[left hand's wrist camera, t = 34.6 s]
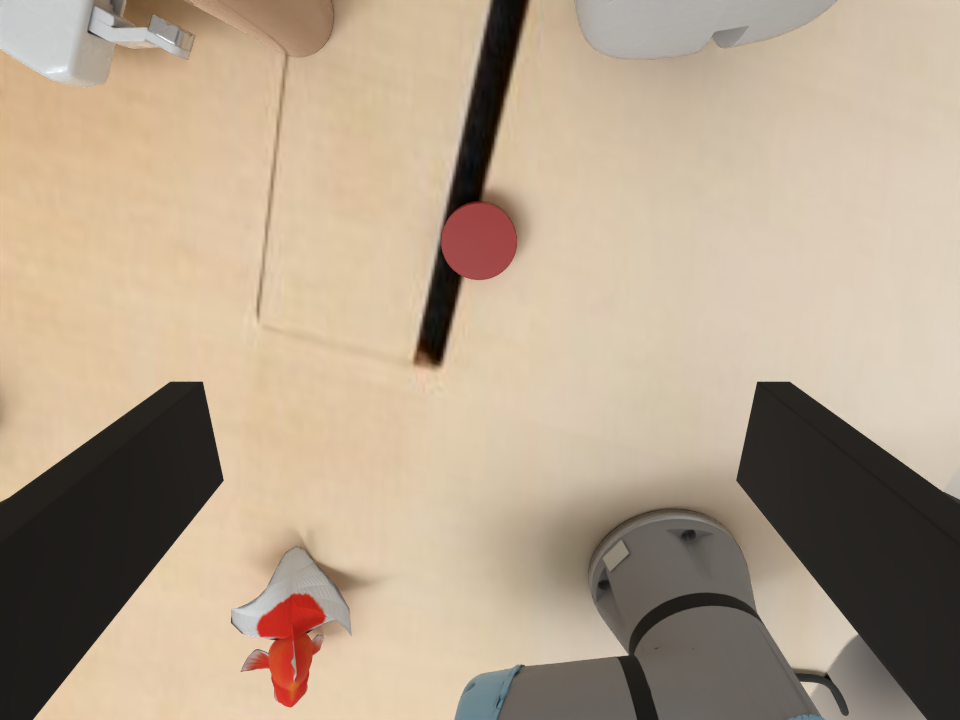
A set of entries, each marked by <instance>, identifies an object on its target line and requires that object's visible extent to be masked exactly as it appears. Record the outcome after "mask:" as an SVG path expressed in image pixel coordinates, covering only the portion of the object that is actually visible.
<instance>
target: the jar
mask: <svg viewBox="0 0 960 720" xmlns="http://www.w3.org/2000/svg"><path fill="white" fill-rule="evenodd" d="M184 1H186V2H188V3H190V4H192V5H194V6H195V7H197V8H199V9H201V10H203V11H205V12H207V13H208V14H210V15H212V16H214V17H216V18H218V19H220V20H222V21H223V22H225V23H227V24H229V25H231V26H233V27H235V28H236V29H238V30H240V31H242V32H244V33H246V34H248V35H249V36H251V37H253V38H255V39H257V40H259V41H261V42H262V43H264V44H266V45H268V46H270V47H272V48H274V49H276V50H277V51H279V52H281V53H283V54H286V55H288V56H292V57H305V56H309V55H312V54H314V53H316V52H317V51H318V50H320V49H321V48H322V47H323V46H324V45H325V43H326V42H327V40H328V38H329V36H330V34H331V31H332V27H333V19H334V17H333V6H332V2H331V0H184Z"/></svg>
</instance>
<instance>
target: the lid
mask: <svg viewBox="0 0 960 720" xmlns="http://www.w3.org/2000/svg"><path fill="white" fill-rule="evenodd" d="M441 245H442V251H443V254H444V257H445V259H446V261H447V263H448V264H449V265H450V267H451V268H452V269H453V270H454V271H456V272H457V273H458V274H460V275H461V276H464V277H466V278H469V279H474V280H485V279H489V278H492V277H495V276H497V275H499V274H500V273H501V272H503V271H504V270H505V269H506V268H507V267H508V266H509V264H510V263H511V261H512V259H513V257H514V255H515V252H516V247H517V236H516V231H515V228H514V226H513V224H512V222H511V220H510V218H509V217H508V215H507V214H506V213H505V212H504V211H503V210H502V209H501V208H499V207H498V206H496V205H494V204H491V203H488V202H483V201H476V202H470V203H467V204H464V205H462V206H461V207H459V208H458V209H456V210H455V211H454V212H453V213H452V214H451V216H450V217H449V219H448V220H447V222H446V224H445V226H444V229H443V232H442V238H441Z"/></svg>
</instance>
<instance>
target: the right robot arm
mask: <svg viewBox="0 0 960 720" xmlns="http://www.w3.org/2000/svg"><path fill="white" fill-rule="evenodd" d="M126 2H127V0H0V49H1V50H2V51H4V52H5V53H7V54H8V55H10V56H11V57H13V58H15V59H16V60H18V61H19V62H21V63H22V64H24V65H26V66H27V67H29V68H31V69H32V70H34V71H36V72H37V73H39V74H41V75H43V76H45V77H46V78H49V79H51V80H53V81H55V82H59V83H62V84H66V85H70V86H75V87H82V88H89V87H94V86H99V85H102V84H104V83H106V82H107V79H108V76H109V72H110V68H111V64H112V60H113V55H114V51H115V47H116V44H119V45H122V46H125V47H128V48H131V49H138V48H158V47H161V48H163V49H164V50H166V51H168V52H170V53H172V54H174V55H176V56H179V57H181V58H184V59H187V60H188V59H189V56H190V52H191V49H192V46H193V42H194V39H195V35H193V34H192V33H190V32H188V31H186V30H184V29H181V27H179V26H177V25H176V24H174V23H172V22H170V21H168V20H166V19H164V18H161V17H159V16H157V15H155V14H152V17H151V20H150V24H149V27H136V25H135V24H134V23H132V22H130V21H128V20H127V19H125V18H123V15H124V11H125V6H126Z"/></svg>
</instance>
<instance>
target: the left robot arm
mask: <svg viewBox="0 0 960 720" xmlns="http://www.w3.org/2000/svg"><path fill="white" fill-rule="evenodd" d="M223 481H224V480H223V475H222V470H221V465H220V461H219V456H218V451H217V447H216V442H215V437H214V432H213V428H212V423H211V418H210V414H209V409H208V404H207V400H206V395H205V390H204V385H203V382H169V383H168V384H167V385H165V386H164V387H162V388H161V389H160V390H158V391H157V392H155V393H154V394H153V395H151V396H150V397H149V398H147V399H146V400H144V401H143V402H142V403H140V404H139V405H137V406H136V407H135V408H133V409H132V410H130V411H129V412H128V413H126V414H125V415H123V416H122V417H121V418H119V419H118V420H117V421H115V422H114V423H112V424H111V425H110V426H108V427H107V428H105V429H104V430H103V431H101V432H100V433H98V434H97V435H96V436H94V437H93V438H91V439H90V440H89V441H87V442H86V443H85V444H83V445H82V446H80V447H79V448H78V449H76V450H75V451H73V452H72V453H71V454H69V455H68V456H66V457H65V458H64V459H62V460H61V461H60V462H58V463H57V464H55V465H54V466H53V467H51V468H50V469H48V470H47V471H46V472H44V473H43V474H41V475H40V476H39V477H37V478H36V479H34V480H33V481H32V482H30V483H29V484H28V485H26V486H25V487H23V488H22V489H21V490H19V491H18V492H16V493H15V494H14V495H12V496H11V497H9V498H7V499H5V500H3V501H1V502H0V720H33V719H34V718H35V716H36V715H37V714H38V713H39V711H40V710H41V709H42V708H43V706H44V705H45V704H46V703H47V701H48V700H49V699H50V698H51V696H52V695H53V694H54V693H55V691H56V690H57V689H58V688H59V686H60V685H61V684H62V683H63V681H64V680H65V679H66V678H67V676H68V675H69V674H70V673H71V671H72V670H73V669H74V668H75V666H76V665H77V664H78V663H79V661H80V660H81V659H82V658H83V656H84V655H85V654H86V652H87V651H88V650H89V649H90V647H91V646H92V645H93V644H94V642H95V641H96V640H97V639H98V637H99V636H100V635H101V634H102V632H103V631H104V630H105V629H106V627H107V626H108V625H109V624H110V622H111V621H112V620H113V619H114V617H115V616H116V615H117V614H118V612H119V611H120V610H121V609H122V607H123V606H124V605H125V604H126V602H127V601H128V600H129V599H130V597H131V596H132V595H133V594H134V592H135V591H136V590H137V589H138V587H139V586H140V585H141V584H142V582H143V581H144V580H145V579H146V577H147V576H148V575H149V573H150V572H151V571H152V570H153V568H154V567H155V566H156V565H157V563H158V562H159V561H160V560H161V558H162V557H163V556H164V555H165V553H166V552H167V551H168V550H169V548H170V547H171V546H172V545H173V543H174V542H175V541H176V540H177V538H178V537H179V536H180V535H181V533H182V532H183V531H184V530H185V528H186V527H187V526H188V525H189V523H190V522H191V521H192V520H193V518H194V517H195V516H196V515H197V513H198V512H199V511H200V510H201V508H202V507H203V506H204V505H205V503H206V502H207V501H208V500H209V498H210V497H211V496H212V495H213V493H214V492H215V491H216V489H217V488H218V487H219V486H220V484H221V483H222V482H223ZM736 481H737V482H738V483H739V484H740V486H741V487H742V488H743V489H744V491H745V492H746V493H747V495H748V496H749V497H750V498H751V500H752V501H753V502H754V503H755V505H756V506H757V507H758V508H759V510H760V511H761V512H762V513H763V515H764V516H765V517H766V518H767V520H768V521H769V522H770V523H771V525H772V526H773V527H774V528H775V530H776V531H777V532H778V533H779V535H780V536H781V537H782V538H783V540H784V541H785V542H786V543H787V545H788V546H789V547H790V548H791V550H792V551H793V552H794V553H795V555H796V556H797V557H798V558H799V560H800V561H801V562H802V563H803V565H804V566H805V567H806V568H807V570H808V571H809V572H810V573H811V575H812V576H813V577H814V579H815V580H816V581H817V582H818V584H819V585H820V586H821V587H822V589H823V590H824V591H825V592H826V594H827V595H828V596H829V597H830V599H831V600H832V601H833V602H834V604H835V605H836V606H837V607H838V609H839V610H840V611H841V612H842V614H843V615H844V616H845V617H846V619H847V620H848V621H849V622H850V624H851V625H852V626H853V627H854V629H855V630H856V631H857V632H858V634H859V635H860V636H861V637H862V639H863V640H864V641H865V642H866V644H867V645H868V646H869V647H870V649H871V650H872V651H873V652H874V654H875V655H876V656H877V657H878V659H879V660H880V661H881V663H882V664H883V665H884V666H885V668H886V669H887V670H888V671H889V673H890V674H891V675H892V676H893V677H894V679H895V680H896V681H897V683H898V684H899V685H900V686H901V688H902V689H903V690H904V691H905V693H906V694H907V695H908V696H909V698H910V699H911V700H912V701H913V703H914V704H915V705H916V706H917V708H918V709H919V710H920V711H921V713H922V714H923V715H924V716H925V718H926V719H927V720H960V500H959V499H957V498H955V497H953V496H951V495H949V494H947V493H945V492H942V491H941V490H939V489H938V488H937V487H935V486H934V485H932V484H931V483H930V482H928V481H927V480H926V479H924V478H923V477H921V476H920V475H919V474H917V473H916V472H914V471H913V470H912V469H910V468H909V467H907V466H906V465H905V464H903V463H902V462H900V461H899V460H898V459H896V458H895V457H894V456H892V455H891V454H889V453H888V452H887V451H885V450H884V449H882V448H881V447H880V446H878V445H877V444H875V443H874V442H873V441H871V440H870V439H869V438H867V437H866V436H864V435H863V434H862V433H860V432H859V431H857V430H856V429H855V428H853V427H852V426H850V425H849V424H848V423H846V422H845V421H843V420H842V419H841V418H839V417H838V416H837V415H835V414H834V413H832V412H831V411H830V410H828V409H827V408H825V407H824V406H823V405H821V404H820V403H818V402H817V401H816V400H814V399H813V398H811V397H810V396H809V395H807V394H806V393H805V392H803V391H802V390H800V389H799V388H798V387H796V386H795V385H793V384H792V383H791V382H757V385H756V390H755V395H754V399H753V404H752V409H751V414H750V418H749V423H748V428H747V432H746V437H745V442H744V447H743V451H742V456H741V461H740V465H739V470H738V475H737V480H736ZM588 578H589V585H590V590H591V593H592V597H593V600H594V603H595V605H596V607H597V609H598V611H599V613H600V615H601V617H602V618H603V620H604V621H605V622H606V624H607V625H608V627H609V628H610V629H611V631H612V632H613V634H614V635H615V636H616V638H617V639H618V640H619V642H620V643H621V645H622V646H623V647H624V649H625V650H626V652H627V653H628V654H629V656H620V657H608V658H600V659H591V660H582V661H573V662H565V663H556V664H545V665H534V666H525V665H516V666H515V667H514V668H511V669H505V670H500V671H495V672H489V673H483V674H480V675H478V676H476V677H475V678H473V679H472V680H471V681H470V682H469V683H468V684H467V686H466V687H465V689H464V691H463V693H462V696H461V699H460V701H459V704H458V707H457V711H456V715H455V720H825V719H824V718H822V717H821V715H820V713H819V712H818V710H817V709H816V707H815V705H814V704H813V702H812V701H811V699H810V697H809V696H808V694H807V693H806V691H805V689H804V688H803V686H802V685H801V683H800V682H815V683H820V684H823V685H825V686H827V687H828V688H829V689H830V691H831V693H832V694H833V696H834V698H835V700H836V702H837V704H838V706H839V708H840V711H841V713H842V714H843V715H844V716H847V715H848V714H849V711H848V708H847V705H846V702H845V700H844V698H843V696H842V694H841V693H840V691H839V689H838V688H837V687H836V686H835V685H834V683H833V682H832V680H831V678H830V677H829V675H828V673H827V672H826V673H825V675H824V677H822V676H818V675H813V674H798V673H794V672H793V670H792V669H791V667H790V665H789V664H788V662H787V661H786V659H785V657H784V656H783V654H782V653H781V651H780V649H779V648H778V646H777V644H776V643H775V641H774V640H773V638H772V636H771V635H770V633H769V632H768V630H767V628H766V627H765V625H764V624H763V622H762V620H761V619H760V617H759V615H758V614H757V611H756V606H755V601H754V596H753V591H752V586H751V581H750V576H749V571H748V567H747V563H746V560H745V558H744V556H743V553H742V551H741V549H740V547H739V546H738V544H737V543H736V541H735V540H734V538H733V537H732V535H731V534H730V532H729V531H728V530H727V529H726V528H725V527H724V526H723V525H721V524H720V523H719V522H717V521H716V520H714V519H712V518H710V517H708V516H706V515H704V514H700V513H697V512H693V511H688V510H677V509H670V510H659V511H654V512H649V513H646V514H642V515H640V516H637V517H634V518H632V519H630V520H628V521H626V522H624V523H623V524H621V525H620V526H618V527H617V528H615V529H614V530H613V531H612V532H610V533H609V534H608V535H607V536H606V537H605V538H604V539H603V541H602V542H601V543H600V544H599V546H598V547H597V549H596V551H595V552H594V554H593V557H592V559H591V562H590V566H589V574H588Z"/></svg>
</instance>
